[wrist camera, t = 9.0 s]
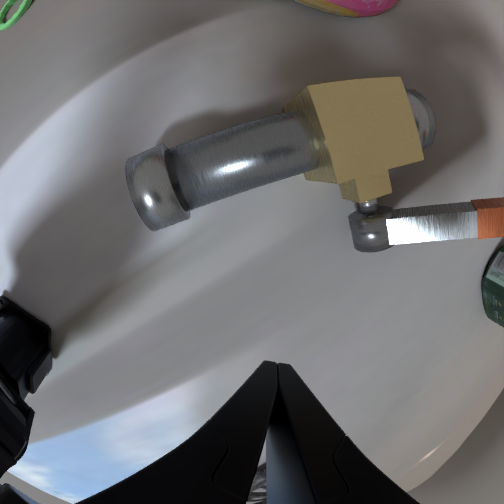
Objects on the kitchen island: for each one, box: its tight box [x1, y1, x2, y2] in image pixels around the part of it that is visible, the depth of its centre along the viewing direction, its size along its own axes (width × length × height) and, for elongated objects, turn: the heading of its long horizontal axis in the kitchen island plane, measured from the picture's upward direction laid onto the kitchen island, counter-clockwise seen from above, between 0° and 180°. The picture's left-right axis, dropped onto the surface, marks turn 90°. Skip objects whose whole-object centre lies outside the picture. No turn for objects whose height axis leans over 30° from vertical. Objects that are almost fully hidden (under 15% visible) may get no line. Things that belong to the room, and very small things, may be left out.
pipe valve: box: [126, 77, 436, 232], centre depth 14 cm, size 18×8×5 cm, turn 108°
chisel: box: [348, 197, 504, 252], centre depth 13 cm, size 3×2×14 cm
